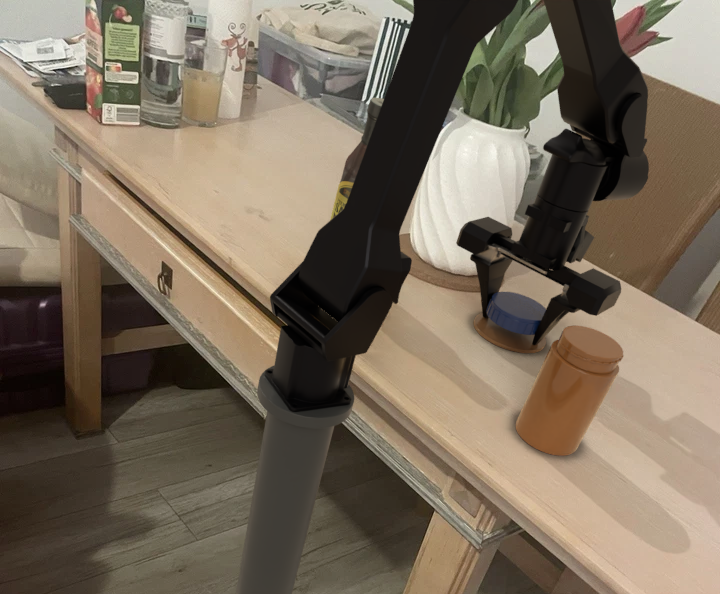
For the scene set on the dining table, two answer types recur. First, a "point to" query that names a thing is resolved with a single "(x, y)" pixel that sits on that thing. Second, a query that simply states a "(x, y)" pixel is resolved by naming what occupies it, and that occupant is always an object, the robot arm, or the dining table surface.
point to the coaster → (506, 336)
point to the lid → (515, 312)
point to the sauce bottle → (356, 158)
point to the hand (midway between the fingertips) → (510, 330)
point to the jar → (569, 390)
